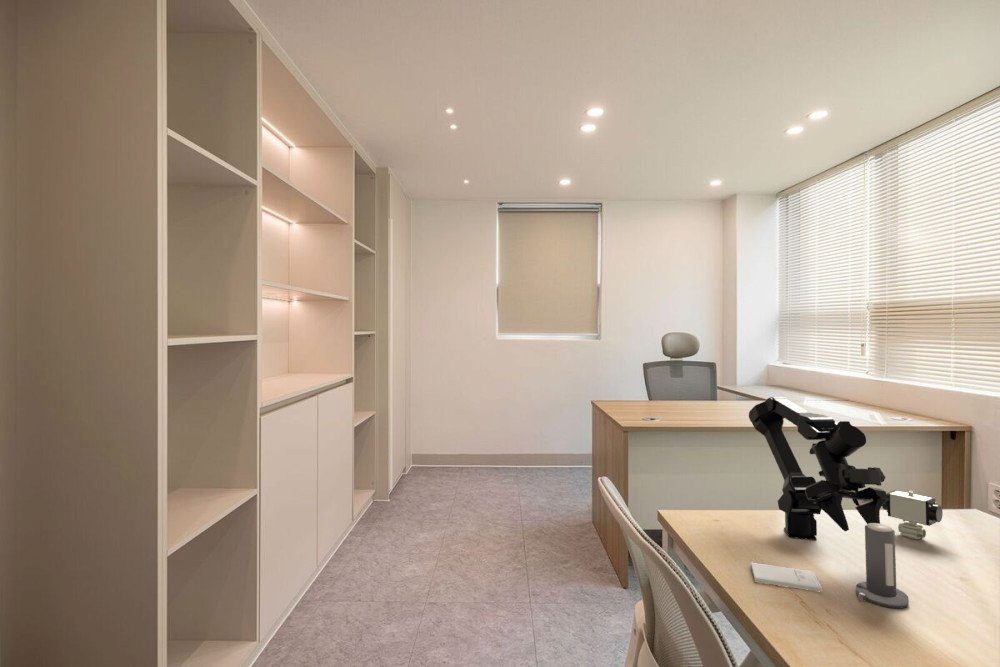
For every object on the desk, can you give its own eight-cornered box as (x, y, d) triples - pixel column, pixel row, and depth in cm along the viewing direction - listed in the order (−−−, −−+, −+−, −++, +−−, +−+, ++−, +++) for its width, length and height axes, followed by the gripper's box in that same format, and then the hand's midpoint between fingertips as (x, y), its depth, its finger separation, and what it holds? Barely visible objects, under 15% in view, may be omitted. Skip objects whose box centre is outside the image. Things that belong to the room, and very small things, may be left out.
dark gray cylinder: (861, 585, 102) (859, 521, 103) (886, 586, 102) (884, 522, 102) (877, 598, 97) (876, 531, 97) (904, 599, 97) (902, 532, 97)
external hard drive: (750, 568, 114) (813, 577, 110) (754, 584, 106) (822, 594, 102) (750, 561, 114) (812, 570, 110) (754, 577, 106) (821, 586, 102)
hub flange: (879, 585, 105) (879, 580, 105) (920, 606, 96) (919, 599, 96) (842, 590, 103) (841, 584, 103) (880, 611, 95) (880, 604, 95)
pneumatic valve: (936, 546, 125) (935, 498, 125) (882, 532, 135) (880, 487, 135) (945, 541, 128) (943, 495, 128) (890, 527, 138) (889, 484, 138)
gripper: (831, 446, 110) (862, 518, 101) (893, 457, 115) (928, 526, 106) (793, 464, 119) (818, 532, 109) (852, 474, 124) (881, 539, 114)
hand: (862, 532), depth 109 cm, fingers open, 9 cm apart
